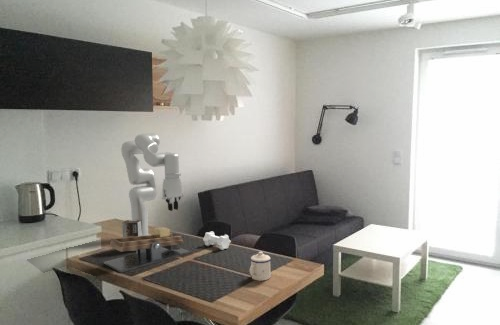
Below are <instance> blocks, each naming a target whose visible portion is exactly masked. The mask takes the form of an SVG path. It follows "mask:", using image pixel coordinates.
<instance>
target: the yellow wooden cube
mask: <svg viewBox="0 0 500 325" xmlns="http://www.w3.org/2000/svg"><path fill="white" fill-rule="evenodd" d="M170 233H171V228H167V227H165V226H164V227H163V226H162V227H154V228H153V235H154V239H156V238H165V237H170Z"/></svg>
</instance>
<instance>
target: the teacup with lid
mask: <svg viewBox="0 0 500 325" xmlns="http://www.w3.org/2000/svg"><path fill="white" fill-rule="evenodd" d="M271 260H272V258H271V257H270V255H268V254H265V253H264V252H263V251H258V253H257V254H253V255H252V256H251V257H250V267H249V274H250V275H251V276H250V278H251V279H252V280H254V281H259V282H260V281H268V280H269V279H270V278H271Z"/></svg>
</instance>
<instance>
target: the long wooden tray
mask: <svg viewBox="0 0 500 325" xmlns="http://www.w3.org/2000/svg"><path fill="white" fill-rule="evenodd" d="M173 234H174V233H173V232H170V237H165V238H156V239H154V234H151V235H146V236H136V237H126V238H123V237H117V238H111V239H110V242H109V247H110V248H112V249H114V250H117V251H118V252H121V253H122V252H132V251H131V250H139V249H147V248H151V245H150V243H153V242H157V241H160V242H161V247H163V248H166V249H168V250H178V249H180V248H182V246H181V245H183V244H184V239H182V238H183V237H182V236H183V235H175V236H173Z"/></svg>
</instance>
